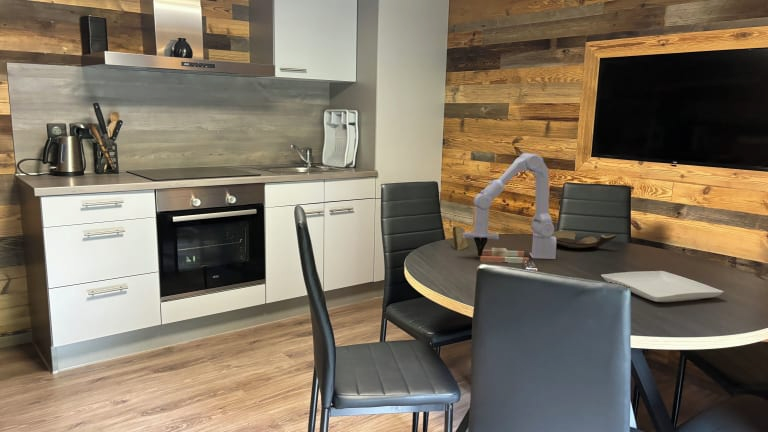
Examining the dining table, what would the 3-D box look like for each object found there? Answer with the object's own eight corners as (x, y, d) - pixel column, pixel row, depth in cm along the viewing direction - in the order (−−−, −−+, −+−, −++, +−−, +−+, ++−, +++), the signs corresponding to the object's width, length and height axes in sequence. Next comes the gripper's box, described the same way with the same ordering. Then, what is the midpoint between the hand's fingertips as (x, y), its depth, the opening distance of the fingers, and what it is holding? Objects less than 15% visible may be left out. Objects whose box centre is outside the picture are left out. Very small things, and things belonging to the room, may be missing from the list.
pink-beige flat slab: (523, 255, 237) (523, 251, 236) (528, 263, 224) (529, 258, 224) (477, 254, 238) (478, 249, 238) (480, 261, 225) (480, 256, 225)
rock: (464, 238, 258) (445, 237, 253) (473, 226, 252) (454, 224, 248) (472, 257, 251) (453, 255, 246) (481, 244, 245) (461, 243, 241)
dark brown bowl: (561, 239, 273) (562, 223, 272) (620, 250, 251) (621, 233, 249) (533, 244, 259) (534, 228, 258) (593, 257, 236) (595, 239, 235)
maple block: (505, 257, 234) (506, 248, 233) (506, 261, 228) (507, 251, 227) (491, 256, 235) (491, 247, 234) (491, 260, 229) (492, 250, 228)
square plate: (724, 301, 181) (726, 290, 181) (655, 308, 174) (656, 296, 173) (661, 278, 207) (662, 268, 206) (598, 283, 199) (599, 273, 198)
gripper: (464, 224, 226) (462, 257, 228) (500, 225, 225) (498, 258, 227) (463, 221, 233) (461, 253, 235) (498, 222, 232) (496, 254, 234)
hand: (479, 255), depth 232 cm, fingers closed
